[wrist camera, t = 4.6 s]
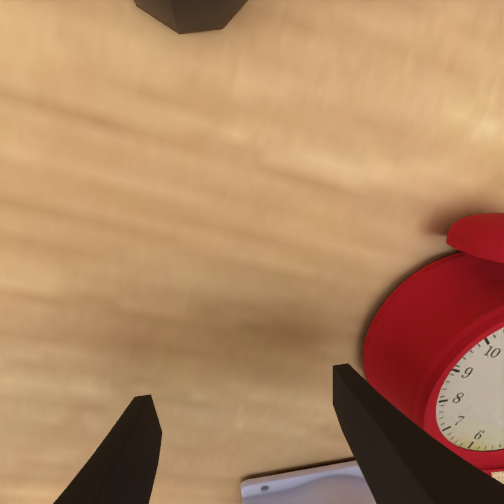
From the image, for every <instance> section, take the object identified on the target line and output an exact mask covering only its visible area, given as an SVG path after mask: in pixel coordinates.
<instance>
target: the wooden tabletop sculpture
mask: <svg viewBox="0 0 504 504" xmlns="http://www.w3.org/2000/svg"><path fill="white" fill-rule="evenodd" d="M247 1H248V0H134V2H135V4H136V5H137V6H138V7H139V8H141V9H142V10H144V11H145V12H147V13H148V14H150V15H151V16H153V17H154V18H156V19H158V20H159V21H161V22H162V23H164V24H165V25H167V26H168V27H170V28H171V29H173V30H174V31H176V32H177V33H179V34H182V33H190V32H199V31H208V30H217V29H223V28H224V27H225V25H226V24H227V23H228V22H229V21H230V20H231V19H232V18H233V16H234V15H235V14H236V13H237V12H238V11H239V10H240V8H241V7H242V6H243V5H244V4H245V3H246V2H247Z"/></svg>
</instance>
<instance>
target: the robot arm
mask: <svg viewBox="0 0 504 504" xmlns="http://www.w3.org/2000/svg"><path fill="white" fill-rule="evenodd" d="M333 406H334V409H335V412H336V415H337V418H338V420H339V423H340V426H341V429H342V431H343V434H344V436H345V438H346V440H347V442H348V444H349V446H350V449H351V451H352V453H353V455H354V457H355V459H356V460H355V461H349V462H343V463H338V464H332V465H327V466H321V467H315V468H310V469H304V470H298V471H293V472H287V473H281V474H276V475H270V476H264V477H259V478H253V479H247V480H245V481H243V482H242V483H241V495H242V504H504V484H502V483H501V482H499V481H497V480H496V479H494V478H493V477H491V476H489V475H488V474H486V473H485V472H483V471H481V470H480V469H478V468H477V467H475V466H473V465H472V464H470V463H469V462H467V461H466V460H464V459H463V458H461V457H460V456H458V455H457V454H455V453H454V452H453V451H451V450H450V449H448V448H447V447H446V446H444V445H443V444H441V443H440V442H439V441H437V440H436V439H435V438H433V437H432V436H431V435H429V434H428V433H427V432H425V431H424V430H423V429H421V428H420V427H419V426H418V425H416V424H415V423H414V422H413V421H411V420H410V419H409V418H408V417H406V416H405V415H404V414H403V413H402V412H401V411H399V410H398V409H397V408H396V407H395V406H394V405H392V404H391V403H390V402H389V401H388V400H387V399H386V398H384V397H383V396H382V395H381V394H380V393H379V392H378V391H377V390H375V389H374V388H373V387H372V386H371V385H370V384H369V383H368V382H367V381H366V380H365V379H364V378H363V377H362V376H361V375H360V374H358V373H357V372H356V371H355V370H354V369H353V368H352V367H351V366H350V365H349V364H348V363H347V364H341V365H334V366H333ZM161 438H162V430H161V426H160V423H159V420H158V417H157V413H156V410H155V407H154V403H153V400H152V397H151V394H150V395H144V396H137V397H134V399H133V400H132V401H131V403H130V404H129V405H128V407H127V408H126V410H125V411H124V412H123V414H122V415H121V417H120V418H119V419H118V421H117V422H116V424H115V425H114V426H113V428H112V429H111V431H110V432H109V433H108V435H107V436H106V437H105V439H104V440H103V442H102V443H101V444H100V446H99V447H98V448H97V450H96V451H95V452H94V454H93V455H92V456H91V458H90V459H89V460H88V461H87V463H86V464H85V465H84V467H83V468H82V469H81V470H80V472H79V473H78V474H77V475H76V477H75V478H74V479H73V480H72V482H71V483H70V484H69V485H68V487H67V488H66V489H65V490H64V491H63V493H62V494H61V495H60V496H59V497H58V499H57V500H56V501H55V502H54V503H53V504H149V500H150V496H151V492H152V488H153V483H154V479H155V475H156V471H157V466H158V461H159V454H160V447H161Z"/></svg>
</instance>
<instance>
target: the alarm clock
mask: <svg viewBox="0 0 504 504" xmlns="http://www.w3.org/2000/svg"><path fill="white" fill-rule="evenodd" d="M446 243H447V244H448V245H450V246H452V247H453V248H455V249H457V250H459V251H462V252H459V253H455V254H452V255H449V256H447V257H444V258H442V259H439V260H437V261H435V262H433V263H431V264H429V265H427V266H425V267H424V268H422V269H420V270H419V271H417V272H416V273H414V274H413V275H412V276H410V277H409V278H408V279H407V280H405V281H404V282H403V283H402V284H401V285H400V286H399V287H398V288H396V289H395V291H394V292H393V293H392V294H391V295H390V296H389V297H388V298H387V299H386V301H385V302H384V303H383V305H382V306H381V307H380V309H379V310H378V312H377V314H376V315H375V317H374V319H373V321H372V323H371V325H370V327H369V330H368V333H367V335H366V339H365V343H364V350H363V366H364V372H365V375H366V378H367V381H368V383H369V384H370V385H371V386H372V387H373V388H374V389H375V390H377V391H378V392H379V393H380V394H381V395H382V396H383V397H384V398H386V399H387V400H388V401H389V402H390V403H391V404H392V405H394V406H395V407H396V408H397V409H398V410H399V411H401V412H402V413H403V414H404V415H405V416H406V417H408V418H409V419H410V420H411V421H413V422H414V423H415V424H416V425H418V426H419V427H420V428H421V429H423V430H424V431H425V432H427V433H428V434H429V435H431V436H432V437H433V438H435V439H436V440H437V441H439V442H440V443H441V444H443V445H444V446H446V447H447V448H448V449H450V450H451V451H453V452H454V453H455V454H457V455H458V456H460V457H461V458H463V459H464V460H466V461H467V462H469V463H470V464H472V465H473V466H475V467H477V468H478V469H480V470H481V471H483V472H485V473H486V474H488V475H489V476H491V472H499V471H504V213H491V214H477V215H472V216H466V217H464V218H462V219H459V220H458V221H456V222H455V223H454V224H453V225H452V226H451V227H450V229H449V231H448V234H447V239H446ZM491 477H492V476H491Z"/></svg>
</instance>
